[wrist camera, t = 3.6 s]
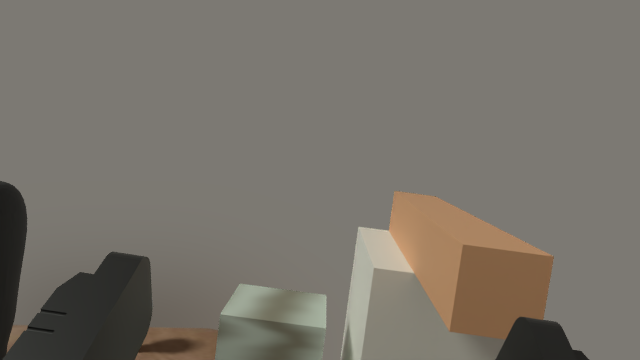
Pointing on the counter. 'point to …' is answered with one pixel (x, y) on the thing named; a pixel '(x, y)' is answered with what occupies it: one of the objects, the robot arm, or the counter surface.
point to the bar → (470, 266)
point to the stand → (399, 311)
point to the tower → (272, 325)
